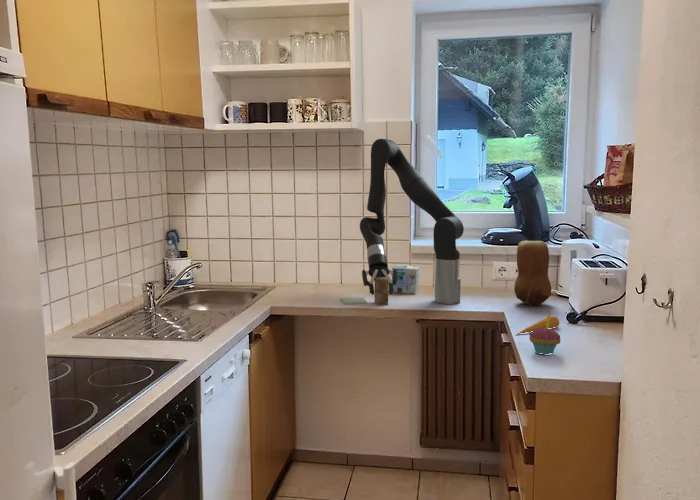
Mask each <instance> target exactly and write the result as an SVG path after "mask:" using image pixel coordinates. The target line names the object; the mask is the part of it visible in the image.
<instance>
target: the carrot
mask: <svg viewBox="0 0 700 500" xmlns="http://www.w3.org/2000/svg"><path fill="white" fill-rule="evenodd" d="M546 324H547V317H545V318H543V319H541V320H539V321H538V322H536V323H533V324H532V325H529V326H528V327H526V328H523V329H522V330H521V331H519V332H517V333H516V334H519V333H525V332H531V331H534V330H536V329H538V328H544V329H545V328H546ZM559 326H560V320H559V318H558V316H554V315H550V319H549V328H553V327H556V328H558V327H559Z"/></svg>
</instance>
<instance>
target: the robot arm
mask: <svg viewBox="0 0 700 500" xmlns="http://www.w3.org/2000/svg"><path fill="white" fill-rule="evenodd" d="M409 161H410V160H408V158H407V157H406V156H405V153H403V151H402V149H401V148H400V147H399V145H398V143H396V142H395V141H394V140H391V139H387V138H377V139H376V140H374V141H373V142H372V145H371V148H370V184H369V191H368V199H367V205H366V209H367V211H368V212H370V213H373V214H375V216H376V217H369V216H368V217H366V216H364V217H363V218H361V220H360V221H359V231H360V233H361V235H362V237H363V239H364V241H365V243H366V254H367V258H366V259H367V264H368V270H365V269H363V270H362V271H361V278H362V283H363V285H364V286H365V287H368V289H369V294H371V295H372V296H373V295H374V296H375V286H374V284H375V277H387V278H388V294H389V295H392V294H393V293H394V292H393V285H396V283H397V270H396V269H394V271H393V270H392V269H389V266H388V259H387V252H386V249H385V244H384V239H383V237H382V236H383V234H384V233H385V230H386V220H385V203H386V196H387V187H386V181H385V169H386V165H388V166H389V167H390V168H391V169H392V170H393V172H394V173H395V174H396V176H397V178H398V180H399V183H400V186H401V189H402V190H403V191H404V193H405V194H406V195H407V197H408V199H410V201H412V202H413V204H415V205H416V206H417V207H418V208H420V210H423V211H425V213H427V214H428V215H430V216H431V218H432V219H433V220H434V221H435V223H434V226H433V250H434V254H435V265H434V266H435V267H434V268H435V270H434V271H435V273H434V302H435V303H438V304H442V305H443V304H445V305H453V304H459V303H461V286H462V285H461V282H462V280H461V279H462V278H460V258H461V255H460V253H461V252H460V250H458V249H457V242H456V240H458V239H460V238H461V237H462V236H463V235H464V230H465V229H464V227H465V226H464V224H463V222H462V220H461V219H460V218H459V217H458V216H457V215H456V214H455V213H454V212H453V211H452V210H451V209H450V208H449V207H448V206H447V205H446V204H445V203H444V202H443V201H442V200H441V198H440V196H439V195H438V194H437V192H435V190H434V189H433V188H432V187H431V185H430V184H429V183H428V182H427V181H426V179H425V178H424V177H423V176H422V175H421V174H420V173H419V171H418V170H417V169H416V168H415V166H413V164H412V163H410V162H409ZM368 275H369V276H370V277H371V278H370V280H368ZM390 276H391V277H392V276H393V281H392V278H391V277H390Z"/></svg>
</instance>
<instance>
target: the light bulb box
mask: <svg viewBox="0 0 700 500" xmlns="http://www.w3.org/2000/svg"><path fill="white" fill-rule="evenodd" d="M394 269H396V270H397V283H396V285H393V293H396V294H399V293H400V294H409V295H416V294H417V293H419V292H420V266H418V265H402V264H401V265H400V264H399V265H394V266H392V268H391V270H393V271H394ZM391 280H392V281H393V276H391Z"/></svg>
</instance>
